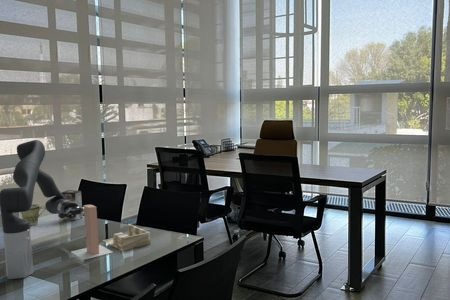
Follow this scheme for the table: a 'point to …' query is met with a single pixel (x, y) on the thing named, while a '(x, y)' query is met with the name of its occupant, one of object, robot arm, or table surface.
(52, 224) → the table surface
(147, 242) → the rack
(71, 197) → the coffee box
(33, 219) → the ceramic cup
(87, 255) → the mat
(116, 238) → the offcut stack
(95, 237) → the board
